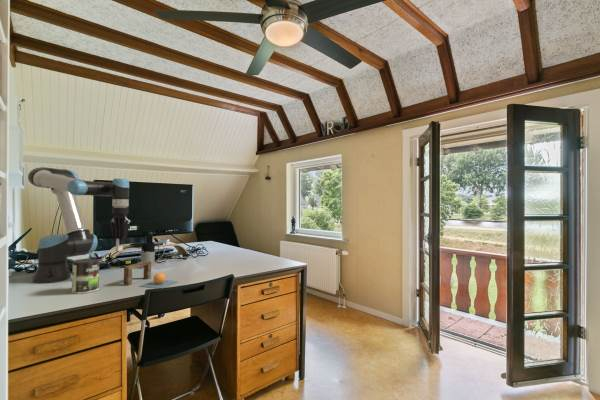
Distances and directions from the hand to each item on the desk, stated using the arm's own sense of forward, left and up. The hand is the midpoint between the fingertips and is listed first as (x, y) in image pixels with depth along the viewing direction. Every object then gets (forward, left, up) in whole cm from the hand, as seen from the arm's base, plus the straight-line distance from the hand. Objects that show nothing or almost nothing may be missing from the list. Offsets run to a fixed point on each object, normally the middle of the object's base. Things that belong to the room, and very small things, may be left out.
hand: (119, 250), depth 153 cm
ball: (+27, 0, -13) cm, 30 cm away
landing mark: (+27, 0, -15) cm, 31 cm away
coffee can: (+3, -20, -16) cm, 26 cm away
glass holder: (-6, +30, -16) cm, 34 cm away
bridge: (+13, 0, -15) cm, 20 cm away
